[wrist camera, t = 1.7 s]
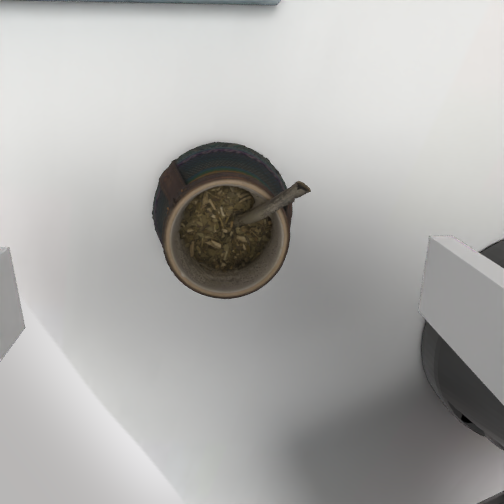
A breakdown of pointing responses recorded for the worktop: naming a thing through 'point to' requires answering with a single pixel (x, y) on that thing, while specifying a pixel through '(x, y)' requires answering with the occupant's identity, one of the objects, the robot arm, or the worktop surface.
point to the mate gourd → (224, 219)
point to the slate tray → (186, 1)
